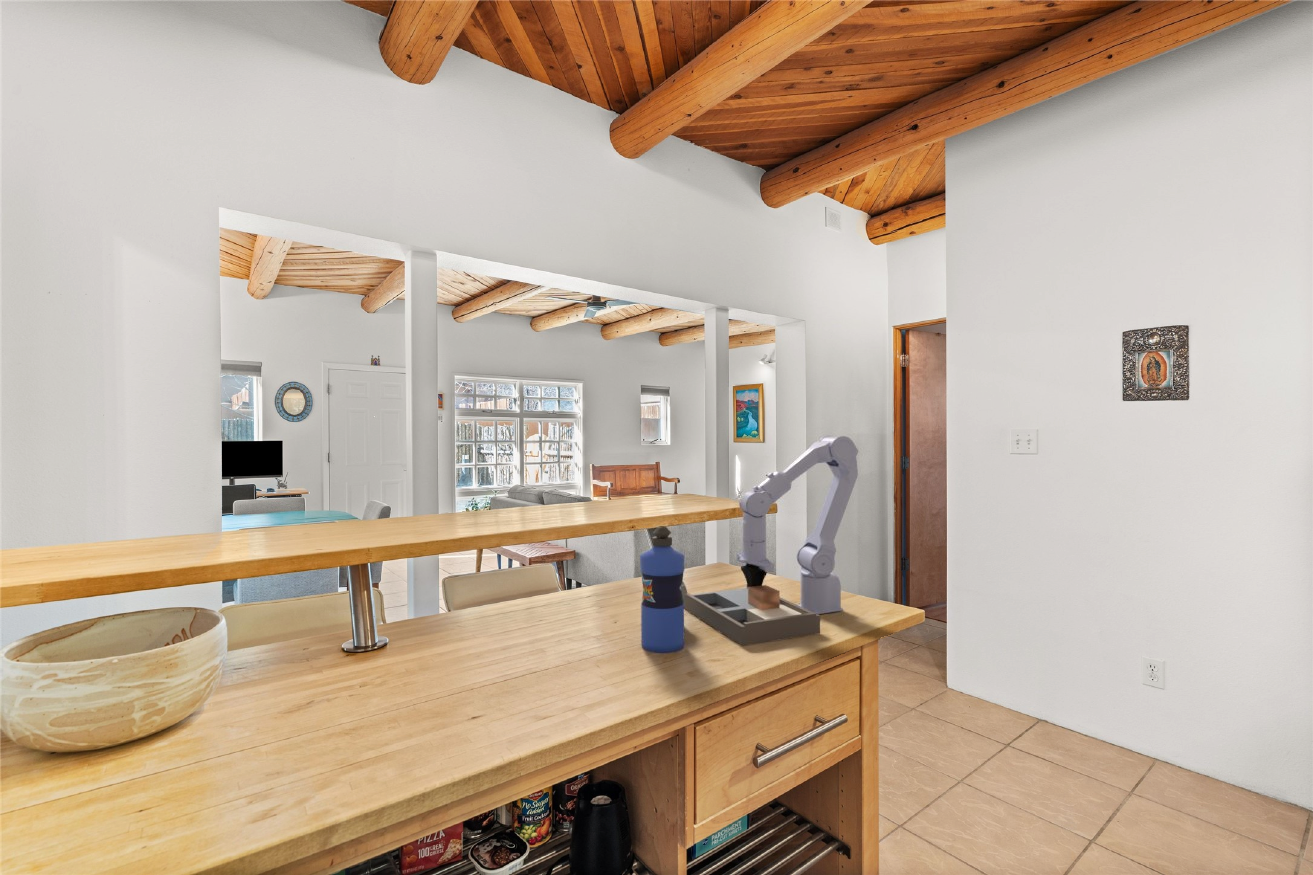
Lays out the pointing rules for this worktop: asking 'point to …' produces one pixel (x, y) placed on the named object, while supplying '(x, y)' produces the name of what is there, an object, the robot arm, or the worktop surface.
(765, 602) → the block
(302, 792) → the worktop surface
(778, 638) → the box
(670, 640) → the water bottle
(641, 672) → the worktop surface
